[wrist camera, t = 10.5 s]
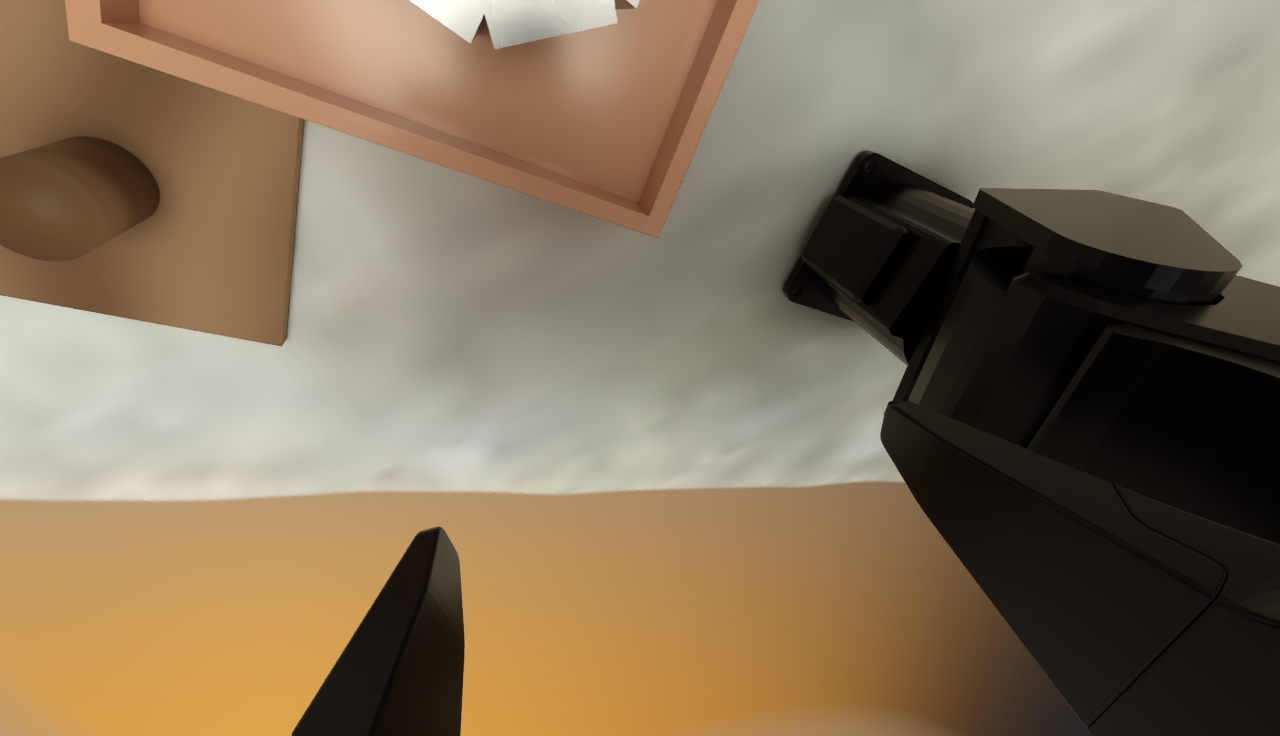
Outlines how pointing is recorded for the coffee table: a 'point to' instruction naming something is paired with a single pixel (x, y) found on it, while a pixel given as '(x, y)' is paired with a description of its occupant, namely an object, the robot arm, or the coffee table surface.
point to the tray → (461, 85)
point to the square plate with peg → (140, 187)
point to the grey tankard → (523, 17)
